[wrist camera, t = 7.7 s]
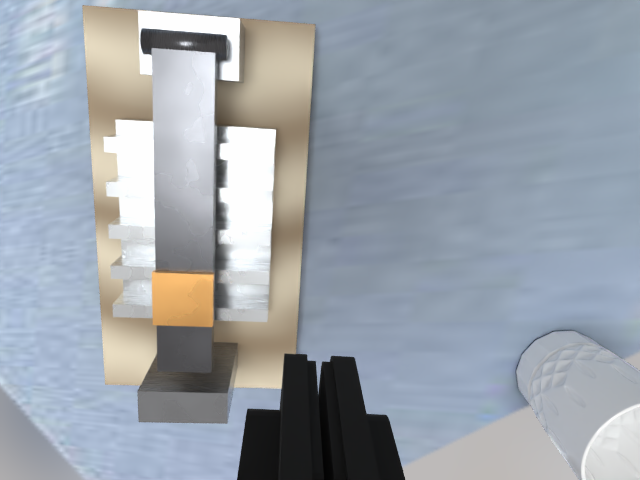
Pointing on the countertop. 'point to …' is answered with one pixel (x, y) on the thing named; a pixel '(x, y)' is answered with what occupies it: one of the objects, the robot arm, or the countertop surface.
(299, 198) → the board
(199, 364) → the strap
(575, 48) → the countertop surface
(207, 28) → the heat sink
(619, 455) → the white cup
